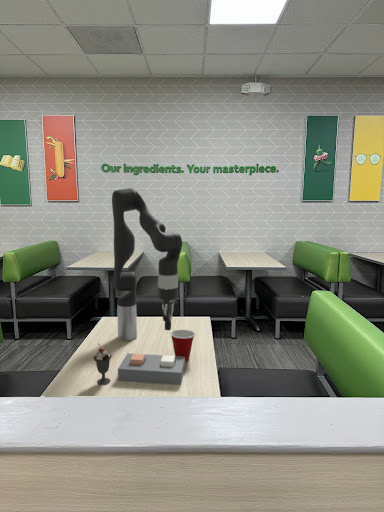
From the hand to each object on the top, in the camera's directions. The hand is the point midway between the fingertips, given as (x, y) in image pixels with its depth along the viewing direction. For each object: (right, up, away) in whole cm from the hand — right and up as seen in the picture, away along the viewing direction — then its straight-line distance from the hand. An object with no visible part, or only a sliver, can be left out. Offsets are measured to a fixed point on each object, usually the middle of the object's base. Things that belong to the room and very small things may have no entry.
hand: (168, 329), depth 129 cm
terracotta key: (-12, -15, +4) cm, 20 cm away
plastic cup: (+5, -17, +17) cm, 24 cm away
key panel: (-6, -19, +4) cm, 20 cm away
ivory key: (0, -16, +3) cm, 16 cm away
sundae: (-24, -20, -2) cm, 31 cm away
